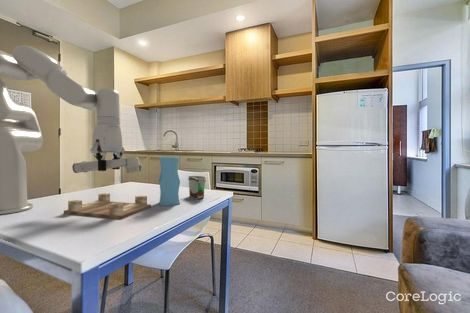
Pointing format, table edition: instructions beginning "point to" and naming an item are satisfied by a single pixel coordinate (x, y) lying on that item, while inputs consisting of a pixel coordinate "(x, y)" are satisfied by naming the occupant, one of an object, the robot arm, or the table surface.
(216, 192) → the table surface
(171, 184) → the vase
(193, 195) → the food container
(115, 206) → the v block cradle
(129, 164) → the white electric toothbrush
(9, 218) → the table surface
